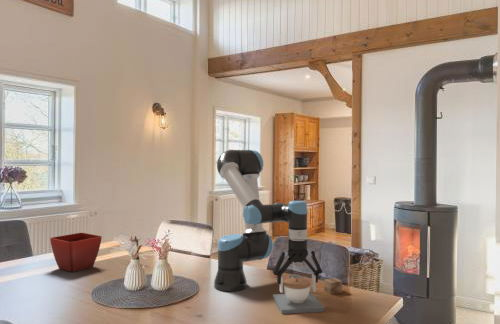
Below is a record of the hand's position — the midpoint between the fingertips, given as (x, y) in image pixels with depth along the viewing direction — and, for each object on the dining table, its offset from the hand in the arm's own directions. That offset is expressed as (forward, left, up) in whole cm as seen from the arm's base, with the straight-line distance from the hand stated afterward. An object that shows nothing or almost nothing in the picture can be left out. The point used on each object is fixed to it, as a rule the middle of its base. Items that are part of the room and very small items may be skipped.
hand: (297, 291), depth 156 cm
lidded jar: (0, 0, -4) cm, 4 cm away
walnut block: (+20, +13, -6) cm, 25 cm away
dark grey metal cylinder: (+3, +15, -5) cm, 16 cm away
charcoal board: (0, 0, -5) cm, 5 cm away
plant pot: (-105, +67, -6) cm, 125 cm away
